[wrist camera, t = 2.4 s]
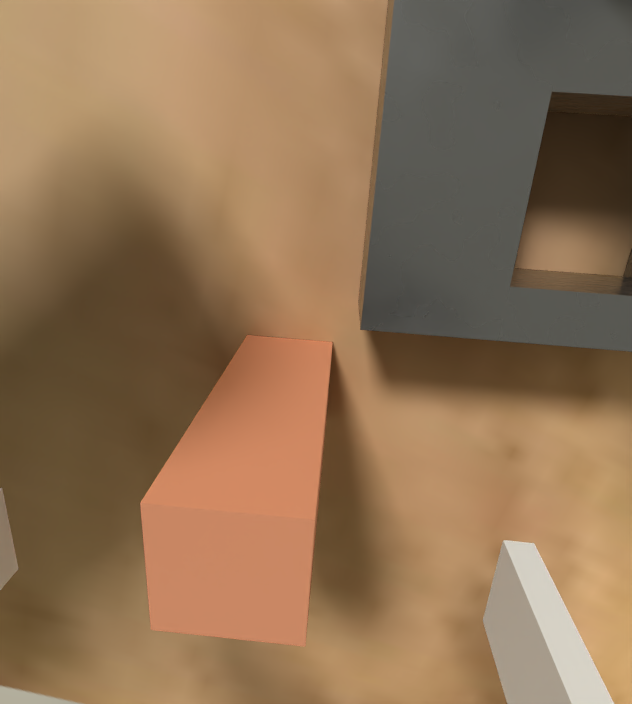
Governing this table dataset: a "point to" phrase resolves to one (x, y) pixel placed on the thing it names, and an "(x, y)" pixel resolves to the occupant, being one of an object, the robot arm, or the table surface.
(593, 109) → the socket base with post
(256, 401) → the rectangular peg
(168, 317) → the table surface
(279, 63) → the table surface
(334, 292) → the table surface
